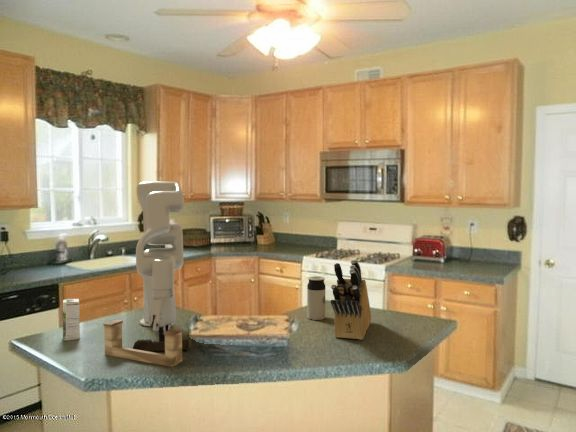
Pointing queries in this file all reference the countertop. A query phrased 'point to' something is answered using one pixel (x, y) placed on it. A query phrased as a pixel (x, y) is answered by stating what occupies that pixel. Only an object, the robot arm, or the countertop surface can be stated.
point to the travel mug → (316, 298)
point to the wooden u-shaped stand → (115, 349)
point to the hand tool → (156, 345)
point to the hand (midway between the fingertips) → (164, 343)
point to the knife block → (350, 304)
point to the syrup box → (71, 319)
